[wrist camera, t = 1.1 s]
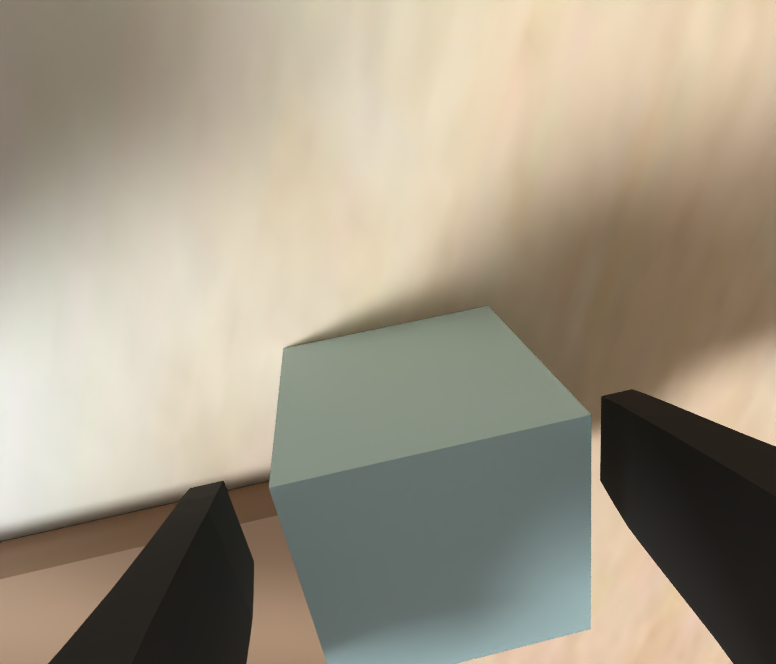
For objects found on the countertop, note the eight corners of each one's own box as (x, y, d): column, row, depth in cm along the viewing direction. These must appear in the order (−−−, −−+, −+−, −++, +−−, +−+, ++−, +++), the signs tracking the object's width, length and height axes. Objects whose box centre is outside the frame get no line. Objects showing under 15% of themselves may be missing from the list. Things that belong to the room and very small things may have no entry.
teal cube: (501, 466, 13) (590, 629, 9) (327, 506, 13) (337, 694, 9) (487, 304, 11) (590, 414, 7) (283, 347, 11) (268, 488, 7)
